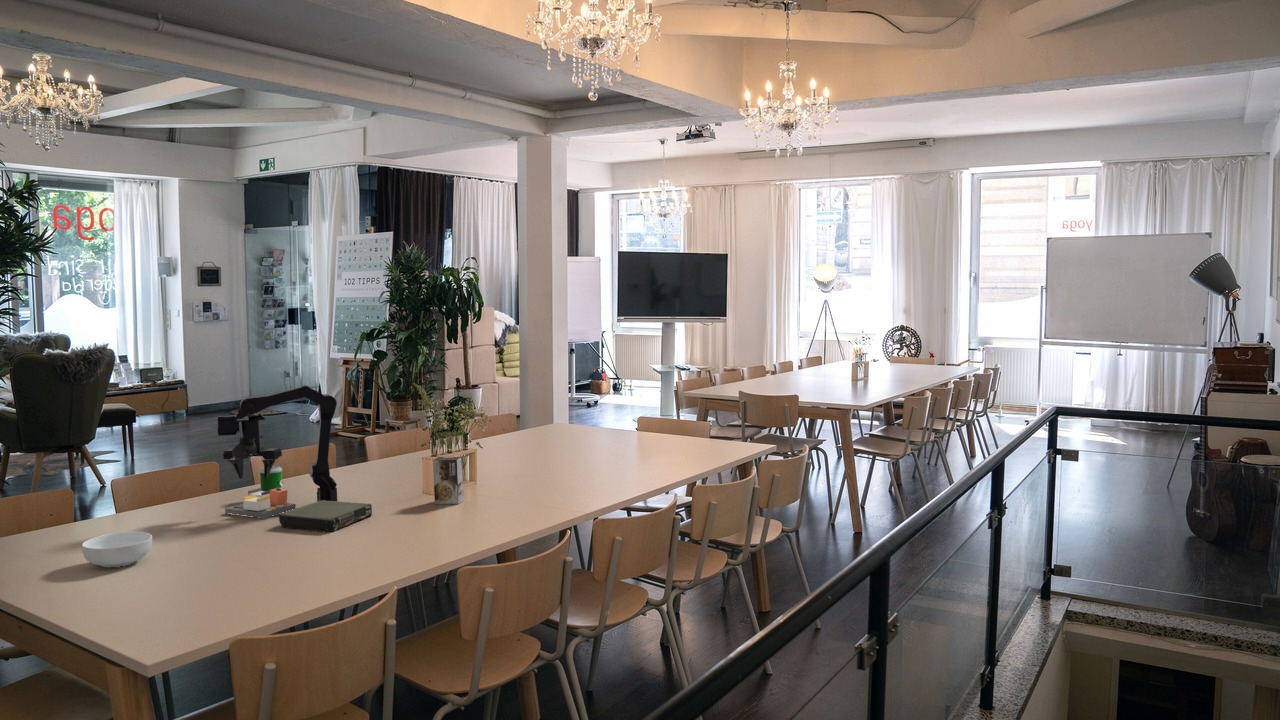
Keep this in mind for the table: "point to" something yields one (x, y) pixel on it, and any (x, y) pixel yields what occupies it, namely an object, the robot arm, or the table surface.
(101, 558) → the cereal bowl
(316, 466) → the robot arm
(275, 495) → the cap
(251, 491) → the block
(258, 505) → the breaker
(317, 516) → the network switch
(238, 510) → the panel
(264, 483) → the soda can
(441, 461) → the coffee box
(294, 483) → the table surface
